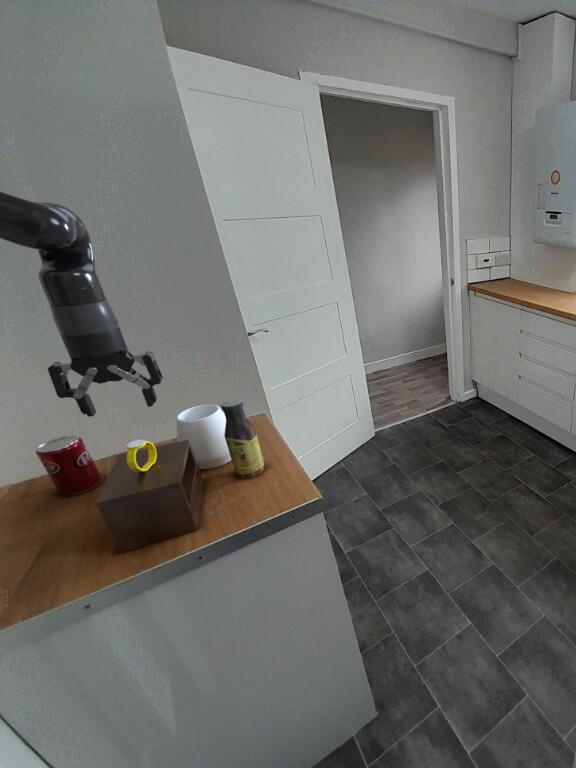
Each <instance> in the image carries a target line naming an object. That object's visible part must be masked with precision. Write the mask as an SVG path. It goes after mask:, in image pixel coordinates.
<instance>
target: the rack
mask: <svg viewBox="0 0 576 768" xmlns="http://www.w3.org/2000/svg"><path fill="white" fill-rule="evenodd" d="M155 448H156V452H157V457H156V462H155V463H154V464H153V465H152V466H151V467H150V468H149V469H148V470H147V471H142V472H134V471H133V470H131V469H130V468H129V466H128V464H127V453H128V452H123V453H118V456H117V458H116V460H115V462H114V464H113V466H112V468H111V471H110V473H109V475H108V477H107V479H106V481H105V483H104V485H103V487H102V490H101V491H100V494H99V496H98V498H97V500H96V502H95V504H96V507H97V508H98V510H99V512H100V515H101V517H102V518H103V520H104V522H105V524H106V527H107V529H108V530H109V532H110V535H111V536H112V539H113V541H114V542H115V545H116V546H117V548H118V551H119V553H120V554H122V553H125V552H129V551H132V550H135V549H138V548H142V547H144V546H148V545H152V544H155V543H158V542H162V541H166V540H169V539H172V538H175V537H178V536H182V535H185V534H189V533H191V532H195V531H198V529H199V528H198V527H199V520H200V512H201V505H202V498H203V497H202V496H203V490H204V480H203V477H202V474H201V471H200V469H199V468H198V465H197V463H196V460H195V457H194V454H193V451H192V448H191V446H190V443H189V440H185V441H180V442H177V441H176V442H172V443H166V444H162V445H161V444H160V445H156V446H155ZM148 457H149V454H148V449H147V448H141V449H137V452H136V463H137V465H138V467H139V468H142V467H143V466H144V465H145V464H146V463H147V462H148Z"/></svg>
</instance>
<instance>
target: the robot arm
mask: <svg viewBox="0 0 576 768" xmlns="http://www.w3.org/2000/svg"><path fill="white" fill-rule="evenodd" d="M0 239H1V240H4V241H6V242H9V243H12V244H15V245H18V246H21V247H25V248H28V249H32V250H36V251H37V252H38V255H39V259H40V262H41V267H40V269H39V271H38V272H37V273H38V275H37V276H38V280H39V283H40V286H41V289H42V290H43V294H44V295H45V297H46V300H47V302H48V304H49V308H50V311H51V315H52V319H53V321H54V324H55V326H56V328H57V330H58V333H59V336H60V338H61V340H62V342H63V344H64V347H65V349H66V351H67V353H68V356H69V358H70V360H71V361H70V362H65V363H62V362H60V361H55V362H53V363H52V364H50V365H49V367H48V368H47V372H48V375H49V378H50V380H51V383H52V385H53V387H54V390H55V393H56V396H57V398H59V399H65V398H70V399H73V400H75V402H76V404H77V407H78V408H79V411H80V412H81V414H83V415H86V416H87V417H90V418H91V417H94V416H95V415H96V413H97V410H96V408H95V406H94V403H93V401H92V398H91V396H90V394H89V393H87V392H88V391H89V389H90V386H92V384H93V383H95V384H96V383H97V384H98V385H100V384H106V383H108V382H121V381H122V380H126V381H127V382H129V383H131V384H135V385H136V386H138V387H140V388H142V389H141V393H142V395H143V398H144V401H145V404H146V405H147V407H148V408H149V407H150V408H151V407H154V405H155V404H156V402H157V400H158V396H157V394H156V391H155V388H154V386H156V385H160V384H161V383H162V380H163V379H164V376H163V374H162V372H161V369H160V367H159V364H158V362H157V360H156V357H155V356H154V353H153V352H152V351H149V350H148V351H145V353H140V354H134V355H133V354H132V353H131V352H130V350H129V348H128V346H127V343H126V341H125V338H124V335H123V333H122V329H121V327H120V325H119V320H118V317H117V316H116V314H115V312H114V309H113V307H112V306H111V304H110V302H109V300H108V297H107V295H106V292H105V290H104V287H103V284H102V282H101V279H100V277H99V275H98V273H97V269H96V259H95V255H94V249H93V244H92V240H91V236H90V233H89V231H88V228H87V226H86V224H85V222H84V220H83V219H82V218H81V217H80V215H79V214H77V213H76V212H75V211H73V210H72V209H70V208H69V207H67V206H65V205H62V204H60V203H56V202H48V201H47V202H46V201H45V202H35V201H31V200H28V199H24V198H21V197H18V196H15V195H12V194H9V193H6V192H3V191H0ZM136 362H137V363H139V364H140V366H143V367H145V368H146V370H147V373H148V375H149V377H147V376H146V375H144V374H142V373H141V372H140V370H137V369H136V368H134V367H133V365H134V364H135V363H136ZM70 370H71V371H73V372H74V373H75V374H76V373H77V374H78V375H80V376H81V377H82V378H81V381H80V382H79V383H78V385H77V387H76V388H71V385H70V382H69V379H68V375H69V374H70Z"/></svg>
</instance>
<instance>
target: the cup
mask: <svg viewBox="0 0 576 768" xmlns="http://www.w3.org/2000/svg"><path fill="white" fill-rule="evenodd" d="M225 426H226V417H225V413H224V411H223V410H222V408H220V406H219V405H217V404H201V405H196V406H193V407H190V408H188V409H185V410H183V411H181V412H179V414H177V416H176V440H177V441H176V442H180V441H185V440H189V443H190V446H191V448H192V451H193V454H194V457H195V460H196V463H197V465H198V468H199V470H209V469H215V468H217V467H218V468H219V467H220V466H223V465H225V464H227V463H229V462H231V461H232V459H231V456H230V453H229V450H228V446H227V443H226V440H225V437H224V434H225Z"/></svg>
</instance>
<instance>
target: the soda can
mask: <svg viewBox="0 0 576 768" xmlns="http://www.w3.org/2000/svg"><path fill="white" fill-rule="evenodd" d="M35 455H36V456H37V458H38V459H39V462H40V463H41V464H42V466H43V469H44V470H45V472H46V473H47V476H49V478H50V480H51V482H52V483H53V485H54V487H55V488H56V490H57V491H58V493H59V494H60V495H62V496H75V495H80V494H83V493H85V492H89V491H91V490H93V489H94V488H96V487H97V486H98V485H99V484H100V483H101V481H102V479H103V476H102V475H101V473H100V471H99V469H98V467H97V465H96V463H95V460H94V458H93V457H92V455H91V453H90V451H89V450H88V448H87V445H86V444H85V442H84V440H83V438H82V437H80V436H78V435H73V434H72V435H64V436H59V437H56V438H52V439H50V440H48V441H45V442H43V443H41V444H40V445H39V446H37V448H36V450H35Z"/></svg>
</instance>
